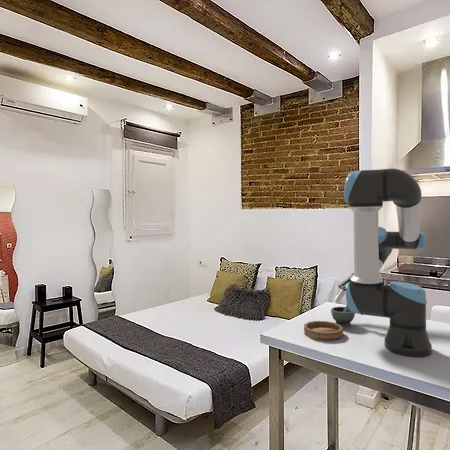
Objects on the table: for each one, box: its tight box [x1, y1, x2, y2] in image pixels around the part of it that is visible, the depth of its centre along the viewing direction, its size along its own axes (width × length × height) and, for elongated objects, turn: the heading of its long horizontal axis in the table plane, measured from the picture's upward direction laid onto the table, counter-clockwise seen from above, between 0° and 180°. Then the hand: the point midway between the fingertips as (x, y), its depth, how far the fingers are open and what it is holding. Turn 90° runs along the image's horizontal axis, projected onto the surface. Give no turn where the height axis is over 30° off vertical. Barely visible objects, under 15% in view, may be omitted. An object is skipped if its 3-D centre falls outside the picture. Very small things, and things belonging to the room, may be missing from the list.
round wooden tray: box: [303, 320, 344, 342], centre depth 143 cm, size 15×15×3 cm
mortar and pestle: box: [330, 304, 356, 329], centre depth 154 cm, size 11×9×12 cm
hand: (347, 305), depth 156 cm, fingers open, 13 cm apart
